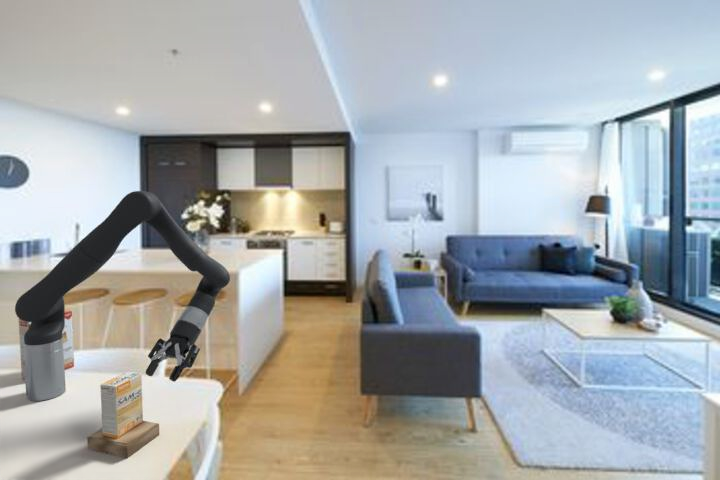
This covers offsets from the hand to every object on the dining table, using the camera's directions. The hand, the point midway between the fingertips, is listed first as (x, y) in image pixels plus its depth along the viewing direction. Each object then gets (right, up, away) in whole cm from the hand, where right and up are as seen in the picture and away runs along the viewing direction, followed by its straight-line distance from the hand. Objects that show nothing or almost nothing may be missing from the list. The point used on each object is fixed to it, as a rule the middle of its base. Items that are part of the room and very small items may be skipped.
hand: (160, 377), depth 112 cm
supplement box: (-4, -10, -10) cm, 14 cm away
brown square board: (-4, -13, -10) cm, 17 cm away
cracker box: (-53, -9, +30) cm, 62 cm away
